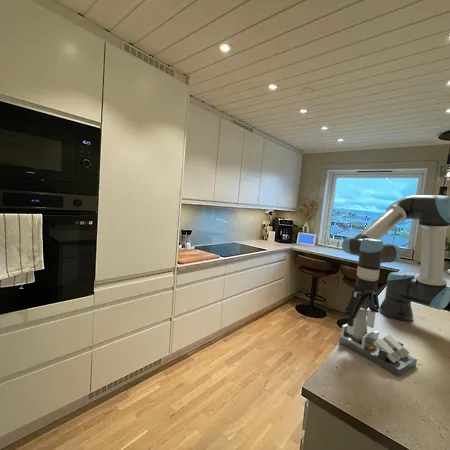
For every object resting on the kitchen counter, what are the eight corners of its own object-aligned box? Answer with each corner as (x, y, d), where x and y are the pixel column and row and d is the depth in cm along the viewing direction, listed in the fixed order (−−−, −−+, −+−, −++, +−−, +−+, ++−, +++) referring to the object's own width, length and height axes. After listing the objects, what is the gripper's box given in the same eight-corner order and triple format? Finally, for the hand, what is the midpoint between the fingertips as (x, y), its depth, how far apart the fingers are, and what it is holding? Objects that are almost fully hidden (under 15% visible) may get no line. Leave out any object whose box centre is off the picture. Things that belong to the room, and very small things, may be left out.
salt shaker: (368, 340, 102) (372, 309, 101) (365, 345, 97) (369, 313, 96) (352, 335, 105) (356, 304, 105) (349, 340, 101) (352, 308, 100)
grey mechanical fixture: (357, 336, 110) (359, 319, 109) (416, 366, 91) (419, 346, 91) (339, 342, 103) (341, 325, 102) (398, 376, 85) (401, 355, 84)
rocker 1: (378, 341, 95) (380, 338, 95) (398, 360, 89) (401, 356, 88) (372, 343, 93) (375, 340, 93) (393, 362, 87) (396, 359, 87)
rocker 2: (387, 337, 99) (389, 334, 98) (407, 355, 93) (410, 352, 92) (382, 339, 97) (385, 336, 96) (402, 358, 91) (405, 355, 90)
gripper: (374, 272, 109) (368, 320, 111) (338, 278, 96) (332, 331, 98) (393, 278, 102) (386, 328, 104) (358, 284, 89) (350, 341, 91)
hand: (360, 329), depth 101 cm, fingers open, 13 cm apart
